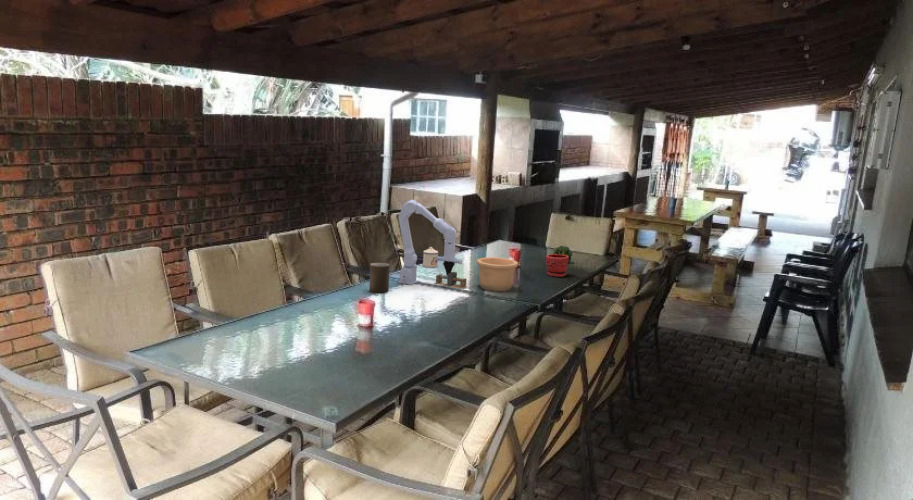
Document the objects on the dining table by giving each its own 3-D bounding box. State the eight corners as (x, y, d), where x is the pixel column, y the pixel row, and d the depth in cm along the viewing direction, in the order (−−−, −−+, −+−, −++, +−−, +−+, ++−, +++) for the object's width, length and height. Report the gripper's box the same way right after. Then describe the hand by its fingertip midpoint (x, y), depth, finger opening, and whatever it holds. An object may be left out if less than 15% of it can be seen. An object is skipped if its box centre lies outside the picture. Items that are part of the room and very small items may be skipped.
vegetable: (550, 261, 420) (548, 247, 432) (561, 274, 426) (559, 260, 438) (566, 252, 415) (564, 238, 427) (577, 265, 421) (575, 251, 433)
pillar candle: (385, 294, 325) (386, 264, 322) (366, 292, 327) (367, 262, 324) (391, 289, 334) (392, 261, 332) (372, 287, 336) (374, 259, 334)
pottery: (468, 288, 347) (470, 261, 344) (486, 280, 366) (487, 255, 363) (506, 294, 337) (508, 267, 334) (522, 286, 356) (524, 261, 354)
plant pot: (566, 273, 396) (567, 254, 394) (567, 278, 383) (569, 258, 381) (544, 272, 397) (546, 252, 395) (545, 276, 384) (546, 256, 382)
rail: (467, 286, 349) (468, 278, 348) (462, 289, 344) (462, 280, 343) (439, 282, 357) (440, 273, 356) (434, 284, 351) (434, 275, 351)
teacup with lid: (432, 268, 390) (433, 249, 388) (419, 266, 394) (420, 247, 392) (442, 265, 401) (443, 246, 398) (430, 263, 405) (431, 244, 403)
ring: (456, 283, 352) (457, 272, 351) (451, 285, 347) (451, 274, 346) (452, 282, 353) (453, 271, 352) (447, 285, 348) (447, 273, 347)
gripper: (465, 251, 348) (463, 276, 350) (441, 247, 354) (440, 272, 357) (459, 253, 342) (457, 278, 344) (434, 249, 348) (433, 274, 351)
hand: (448, 275), depth 350 cm, fingers closed
